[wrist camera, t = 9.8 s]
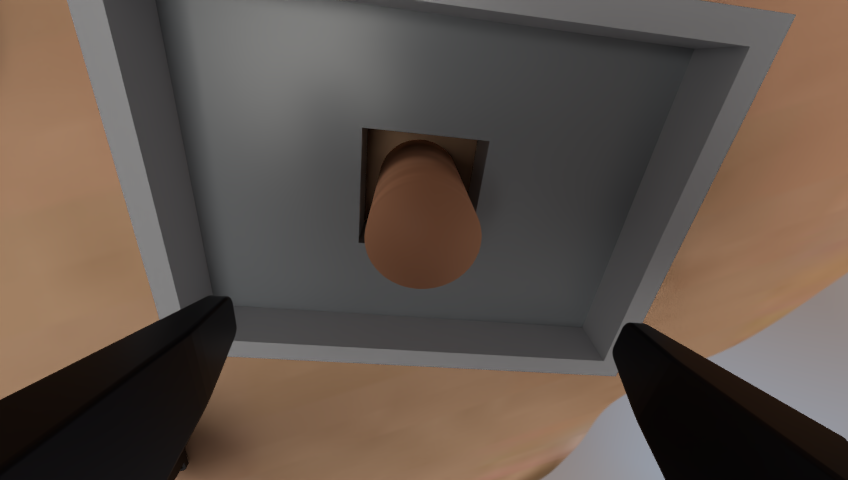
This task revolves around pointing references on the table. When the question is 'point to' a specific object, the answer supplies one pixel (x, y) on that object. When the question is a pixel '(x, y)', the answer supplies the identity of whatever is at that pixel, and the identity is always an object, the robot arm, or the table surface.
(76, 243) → the table surface
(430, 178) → the peg
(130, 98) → the socket box
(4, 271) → the table surface
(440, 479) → the table surface
